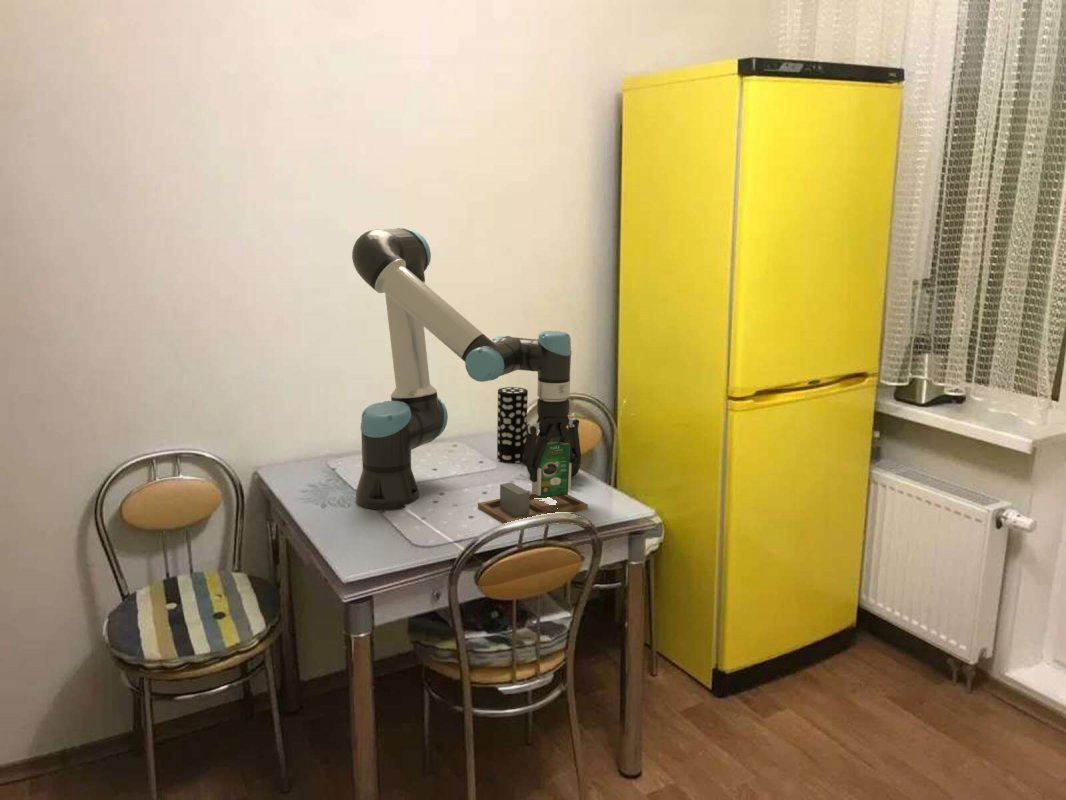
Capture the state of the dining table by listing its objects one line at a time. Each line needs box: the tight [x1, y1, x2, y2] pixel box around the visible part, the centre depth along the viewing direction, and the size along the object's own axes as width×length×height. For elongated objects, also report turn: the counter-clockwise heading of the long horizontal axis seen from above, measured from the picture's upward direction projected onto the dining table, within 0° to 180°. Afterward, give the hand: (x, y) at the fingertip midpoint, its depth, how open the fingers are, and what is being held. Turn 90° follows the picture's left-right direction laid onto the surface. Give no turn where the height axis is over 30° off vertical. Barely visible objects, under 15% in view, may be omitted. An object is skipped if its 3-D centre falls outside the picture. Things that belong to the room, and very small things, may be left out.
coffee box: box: [535, 442, 570, 498], centre depth 204 cm, size 8×3×13 cm, turn 114°
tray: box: [477, 491, 589, 524], centre depth 203 cm, size 22×14×2 cm, turn 124°
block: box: [499, 482, 531, 518], centre depth 200 cm, size 3×8×6 cm, turn 34°
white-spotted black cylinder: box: [496, 386, 529, 464], centre depth 242 cm, size 8×8×20 cm
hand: (551, 490), depth 205 cm, fingers closed on coffee box, 8 cm apart
